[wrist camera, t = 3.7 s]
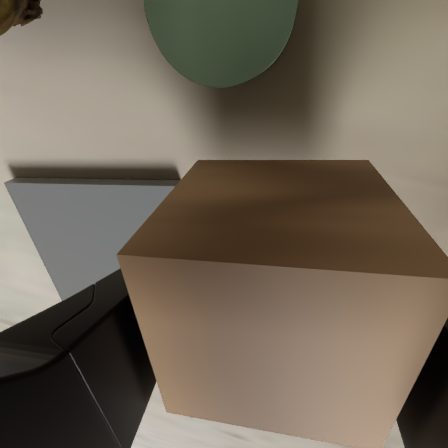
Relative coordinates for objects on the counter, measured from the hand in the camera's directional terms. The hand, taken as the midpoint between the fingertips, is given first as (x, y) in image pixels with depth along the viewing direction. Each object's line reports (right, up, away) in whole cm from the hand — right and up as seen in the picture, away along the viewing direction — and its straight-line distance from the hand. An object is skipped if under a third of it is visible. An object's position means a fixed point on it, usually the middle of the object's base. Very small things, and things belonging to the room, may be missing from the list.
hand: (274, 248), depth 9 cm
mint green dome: (-1, +8, +2) cm, 9 cm away
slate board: (-8, -1, +9) cm, 12 cm away
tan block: (0, 0, +1) cm, 1 cm away
